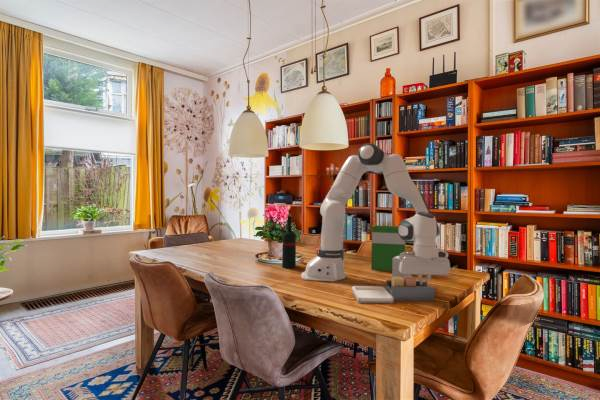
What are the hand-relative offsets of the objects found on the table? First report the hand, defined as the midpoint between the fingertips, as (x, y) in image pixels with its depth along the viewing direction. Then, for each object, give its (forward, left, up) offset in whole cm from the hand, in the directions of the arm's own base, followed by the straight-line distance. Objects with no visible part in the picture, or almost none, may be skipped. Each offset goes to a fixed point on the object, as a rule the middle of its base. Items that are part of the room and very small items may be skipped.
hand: (423, 284), depth 140 cm
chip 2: (-6, 0, -1) cm, 6 cm away
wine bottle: (-57, +53, -5) cm, 78 cm away
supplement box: (-3, +19, -5) cm, 20 cm away
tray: (-21, 0, -5) cm, 22 cm away
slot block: (-6, 0, -5) cm, 8 cm away
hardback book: (-2, +48, -5) cm, 48 cm away
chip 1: (-11, 0, -1) cm, 11 cm away
